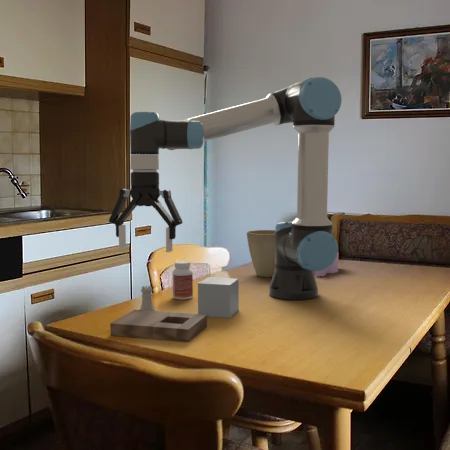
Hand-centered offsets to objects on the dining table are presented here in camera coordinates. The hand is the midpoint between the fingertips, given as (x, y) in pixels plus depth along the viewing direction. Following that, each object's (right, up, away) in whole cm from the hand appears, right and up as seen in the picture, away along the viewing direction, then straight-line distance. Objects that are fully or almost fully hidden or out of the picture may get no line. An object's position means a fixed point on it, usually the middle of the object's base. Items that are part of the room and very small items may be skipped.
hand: (145, 250), depth 168 cm
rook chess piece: (0, -18, +2) cm, 18 cm away
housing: (+20, -18, +5) cm, 27 cm away
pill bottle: (+8, -16, +23) cm, 29 cm away
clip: (+57, -11, +66) cm, 88 cm away
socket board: (+5, -19, -13) cm, 24 cm away
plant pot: (+37, -12, +60) cm, 71 cm away
